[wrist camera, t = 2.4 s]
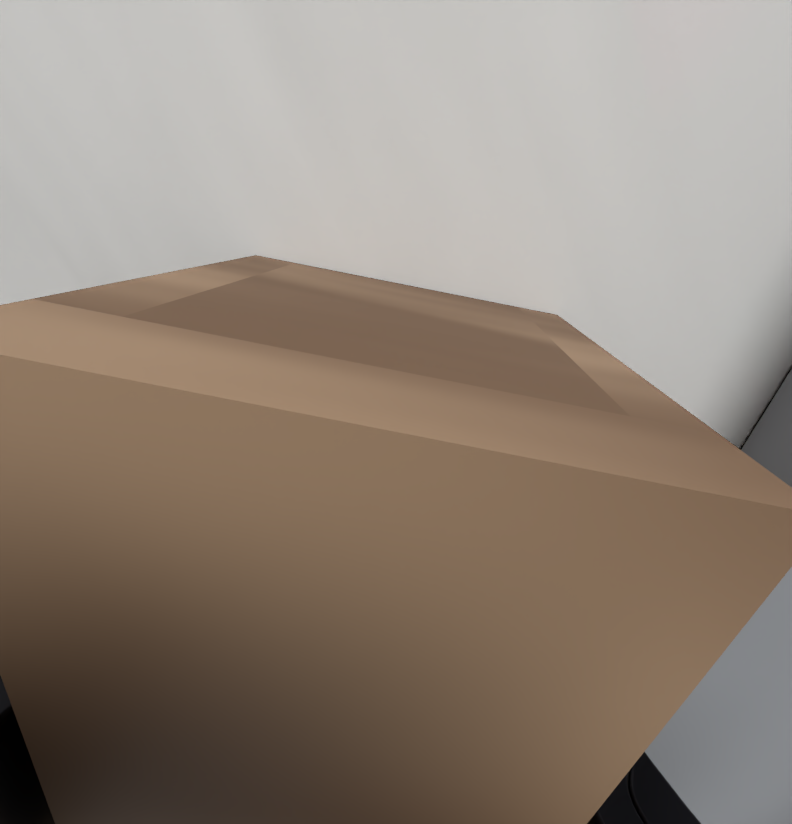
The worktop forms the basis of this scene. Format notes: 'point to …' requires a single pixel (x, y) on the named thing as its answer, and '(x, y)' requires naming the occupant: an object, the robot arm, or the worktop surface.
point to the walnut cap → (352, 552)
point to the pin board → (742, 691)
